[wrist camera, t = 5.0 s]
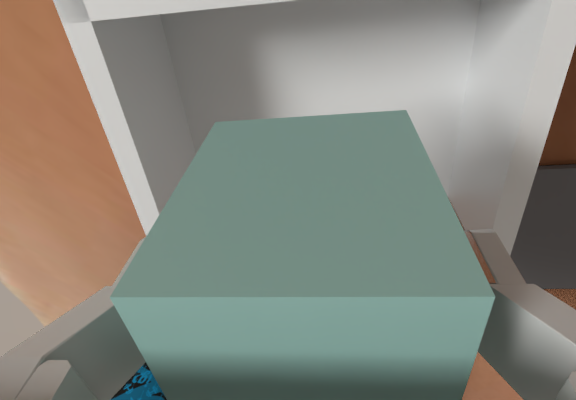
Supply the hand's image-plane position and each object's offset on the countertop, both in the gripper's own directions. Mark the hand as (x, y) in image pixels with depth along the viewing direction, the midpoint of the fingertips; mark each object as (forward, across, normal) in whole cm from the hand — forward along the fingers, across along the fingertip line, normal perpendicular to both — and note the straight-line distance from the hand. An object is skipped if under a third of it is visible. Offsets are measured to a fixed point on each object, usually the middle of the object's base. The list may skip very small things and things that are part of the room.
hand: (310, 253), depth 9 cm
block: (+3, 0, 0) cm, 3 cm away
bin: (+12, 0, 0) cm, 12 cm away
